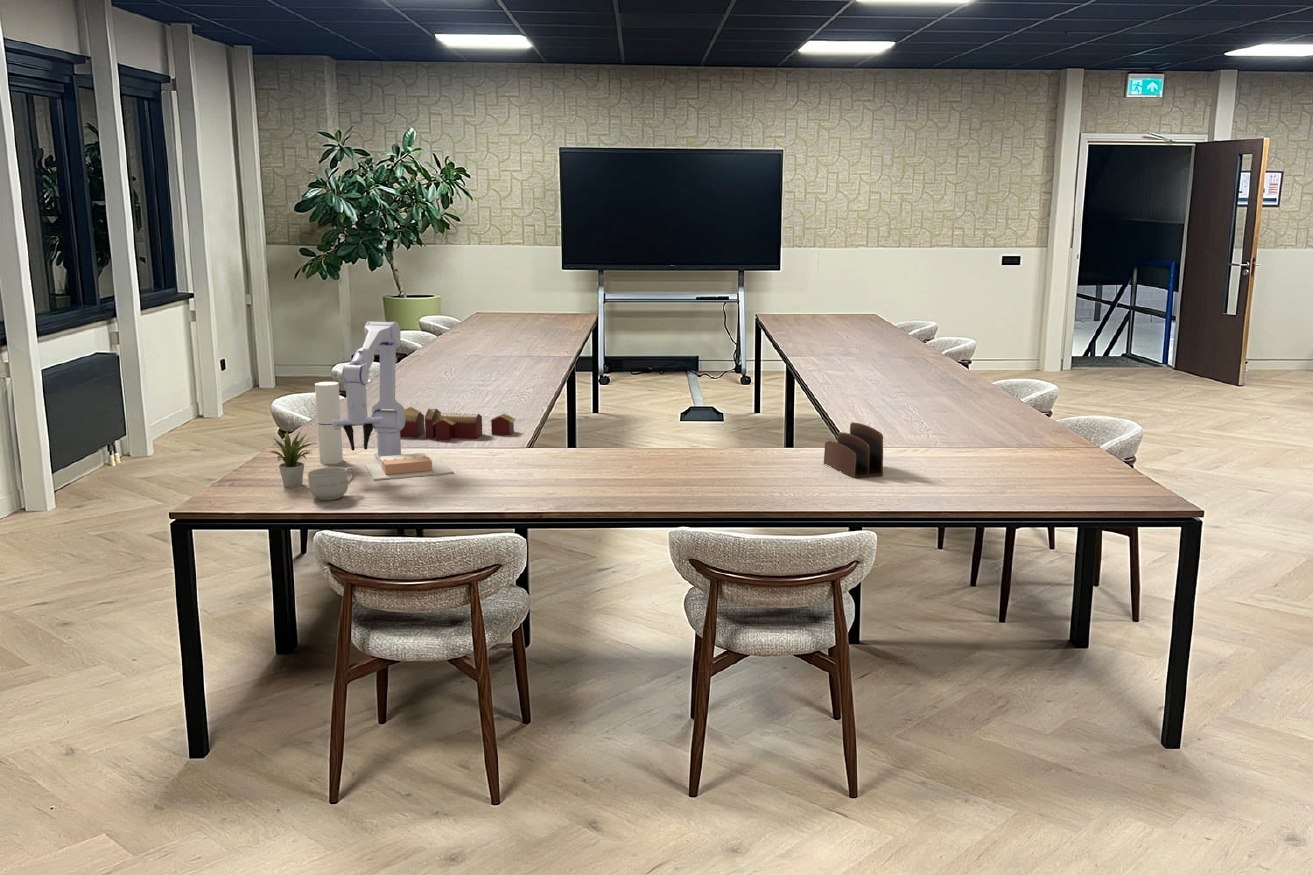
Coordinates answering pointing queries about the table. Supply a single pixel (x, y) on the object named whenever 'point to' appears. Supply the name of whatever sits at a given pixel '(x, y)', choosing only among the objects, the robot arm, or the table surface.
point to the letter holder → (856, 452)
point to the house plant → (292, 460)
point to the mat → (437, 469)
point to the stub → (407, 465)
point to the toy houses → (451, 425)
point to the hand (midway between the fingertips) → (359, 449)
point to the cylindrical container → (328, 422)
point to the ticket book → (400, 457)
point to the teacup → (329, 482)
